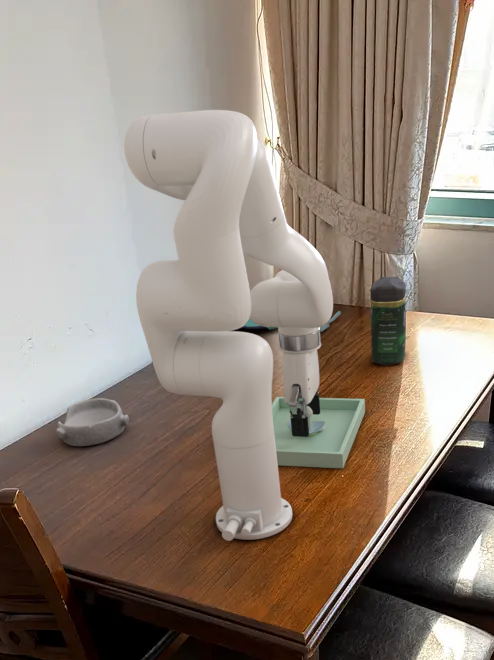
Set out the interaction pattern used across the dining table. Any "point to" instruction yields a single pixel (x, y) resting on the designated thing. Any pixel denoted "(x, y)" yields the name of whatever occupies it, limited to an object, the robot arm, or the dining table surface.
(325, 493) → the dining table surface
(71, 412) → the dish
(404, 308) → the coffee jar
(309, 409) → the pacifier
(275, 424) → the tray
